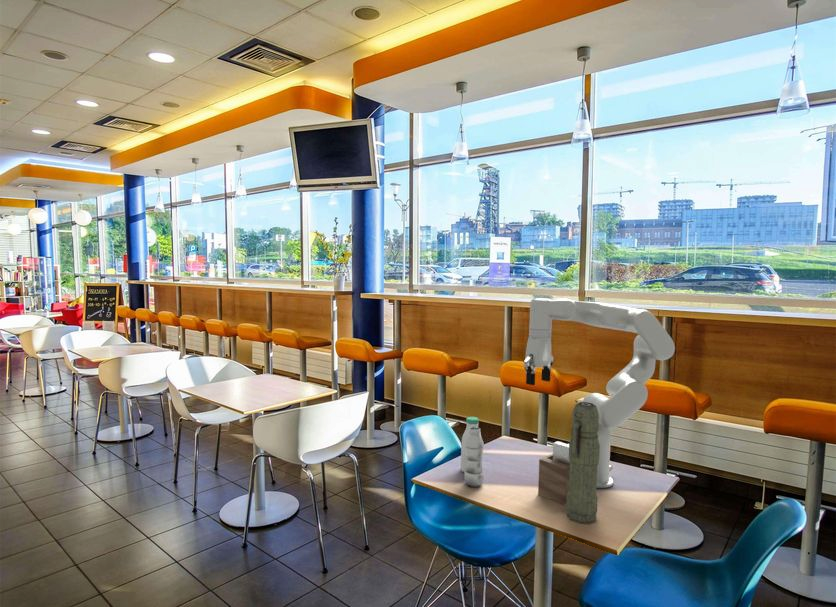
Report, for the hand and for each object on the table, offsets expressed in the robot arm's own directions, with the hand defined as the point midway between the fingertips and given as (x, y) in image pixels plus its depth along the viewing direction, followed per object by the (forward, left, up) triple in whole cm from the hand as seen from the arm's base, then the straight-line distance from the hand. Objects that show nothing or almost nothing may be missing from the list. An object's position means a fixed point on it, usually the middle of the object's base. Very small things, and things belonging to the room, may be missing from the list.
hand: (538, 382), depth 178 cm
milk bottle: (+9, -22, -36) cm, 43 cm away
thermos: (+10, +24, -36) cm, 45 cm away
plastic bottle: (+18, -13, -36) cm, 42 cm away
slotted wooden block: (+2, +11, -36) cm, 38 cm away
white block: (+2, +12, -28) cm, 31 cm away
